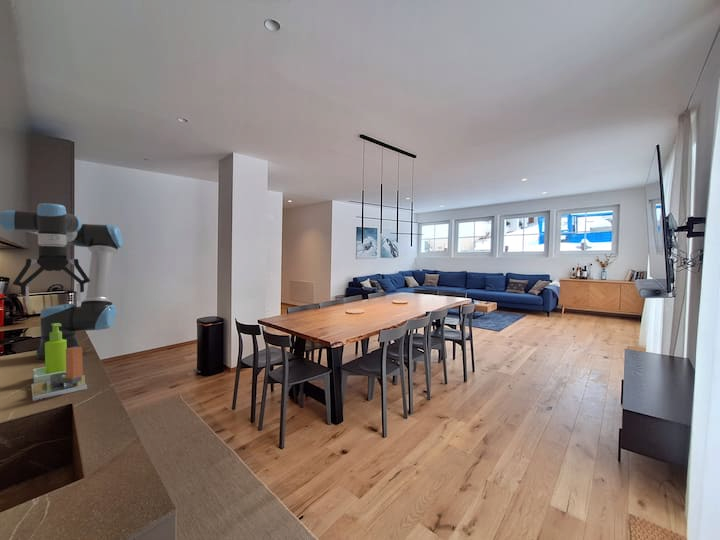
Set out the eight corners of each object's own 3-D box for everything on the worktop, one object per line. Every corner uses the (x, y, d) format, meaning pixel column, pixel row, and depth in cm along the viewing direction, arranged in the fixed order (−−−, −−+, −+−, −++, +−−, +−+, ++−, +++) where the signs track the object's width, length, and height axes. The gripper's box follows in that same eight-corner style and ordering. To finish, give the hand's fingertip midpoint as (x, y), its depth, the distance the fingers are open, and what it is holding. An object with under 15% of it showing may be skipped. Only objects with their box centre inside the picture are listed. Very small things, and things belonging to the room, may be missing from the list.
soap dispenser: (48, 380, 112) (47, 325, 112) (43, 376, 116) (42, 323, 116) (70, 375, 117) (68, 323, 117) (65, 371, 121) (63, 321, 120)
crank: (46, 385, 106) (45, 347, 105) (61, 380, 110) (60, 344, 110) (71, 388, 104) (70, 350, 103) (85, 383, 108) (84, 346, 107)
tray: (33, 378, 116) (33, 369, 116) (75, 370, 125) (74, 361, 125) (34, 387, 108) (34, 377, 108) (78, 377, 117) (78, 368, 117)
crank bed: (31, 388, 107) (31, 377, 107) (81, 377, 117) (81, 367, 117) (32, 401, 98) (32, 388, 98) (87, 388, 108) (86, 377, 107)
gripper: (1, 244, 103) (3, 307, 104) (98, 246, 121) (99, 300, 122) (1, 244, 108) (3, 304, 109) (94, 247, 126) (96, 298, 127)
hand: (54, 302), depth 116 cm, fingers open, 13 cm apart
